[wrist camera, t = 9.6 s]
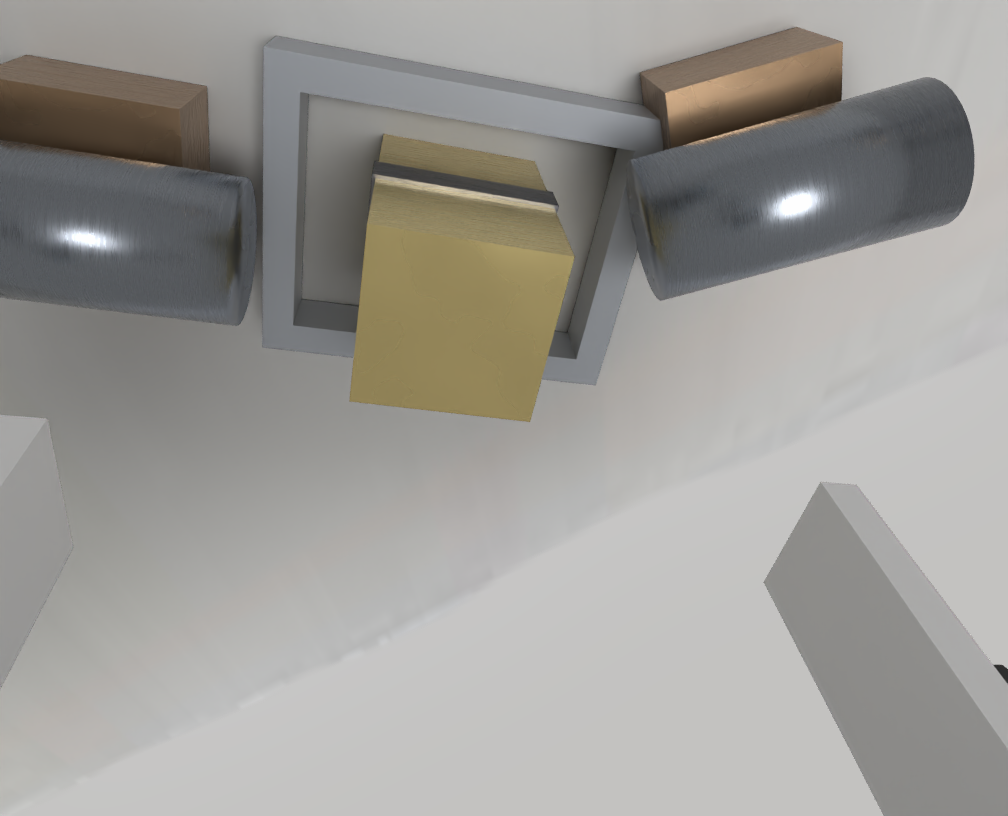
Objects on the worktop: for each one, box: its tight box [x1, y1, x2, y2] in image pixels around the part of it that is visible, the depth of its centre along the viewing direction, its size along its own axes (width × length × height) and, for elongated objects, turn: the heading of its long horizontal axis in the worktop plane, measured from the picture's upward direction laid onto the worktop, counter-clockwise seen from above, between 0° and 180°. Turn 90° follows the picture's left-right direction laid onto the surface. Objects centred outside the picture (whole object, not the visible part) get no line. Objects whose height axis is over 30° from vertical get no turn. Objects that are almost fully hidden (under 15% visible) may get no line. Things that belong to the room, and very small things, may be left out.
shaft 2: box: [626, 27, 974, 301], centre depth 21 cm, size 8×6×7 cm
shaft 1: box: [0, 55, 257, 326], centre depth 20 cm, size 9×6×7 cm, turn 79°
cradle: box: [262, 36, 664, 385], centre depth 24 cm, size 12×10×2 cm
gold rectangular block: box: [350, 134, 575, 422], centre depth 22 cm, size 5×5×8 cm
